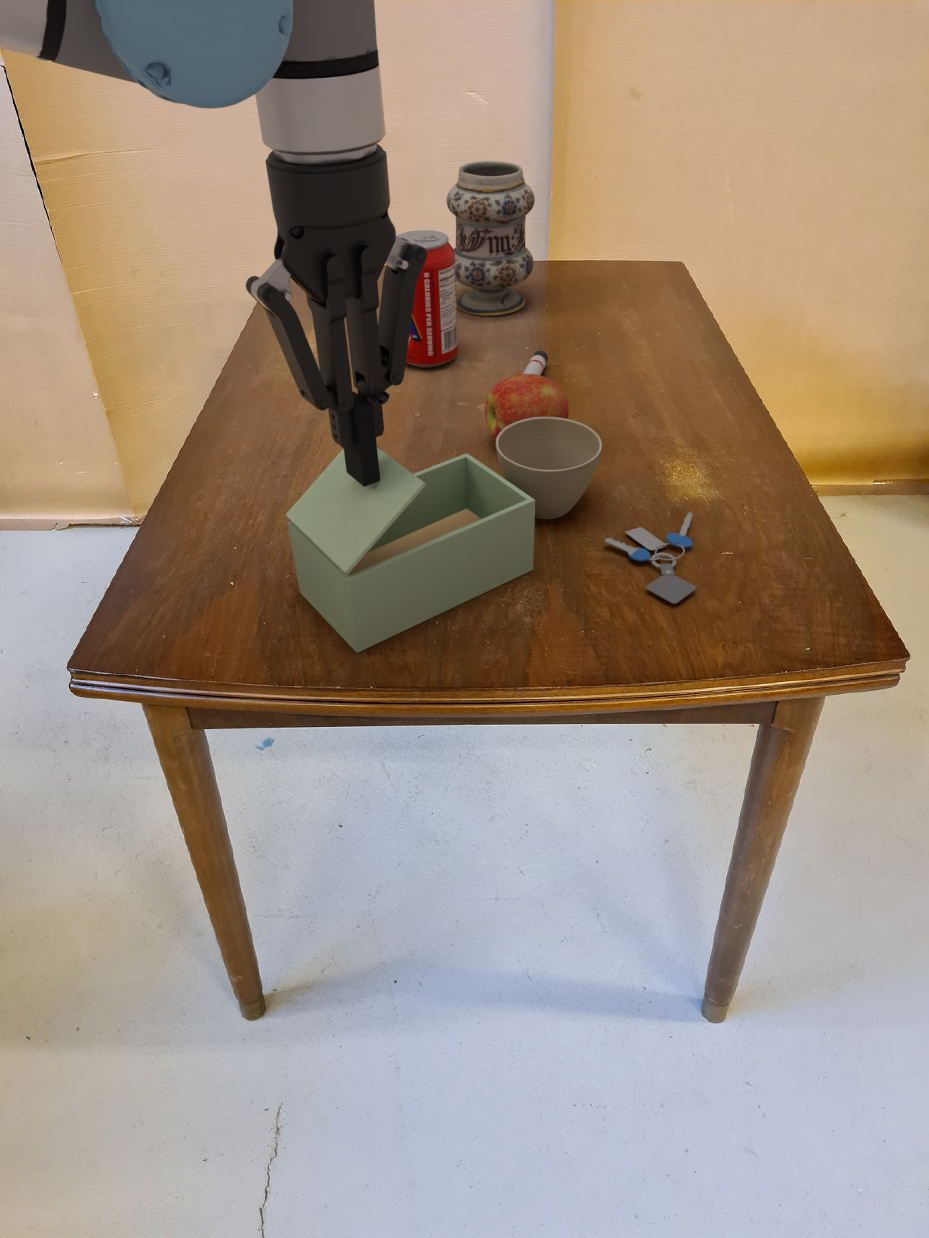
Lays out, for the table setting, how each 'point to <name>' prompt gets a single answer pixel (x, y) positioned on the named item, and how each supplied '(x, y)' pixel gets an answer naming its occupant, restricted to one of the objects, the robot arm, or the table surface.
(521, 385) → the apple
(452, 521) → the birch block
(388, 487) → the flap
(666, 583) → the key chain
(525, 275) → the apothecary jar
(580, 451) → the flower pot
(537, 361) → the marker
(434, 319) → the soda can
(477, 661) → the table surface
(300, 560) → the carton
